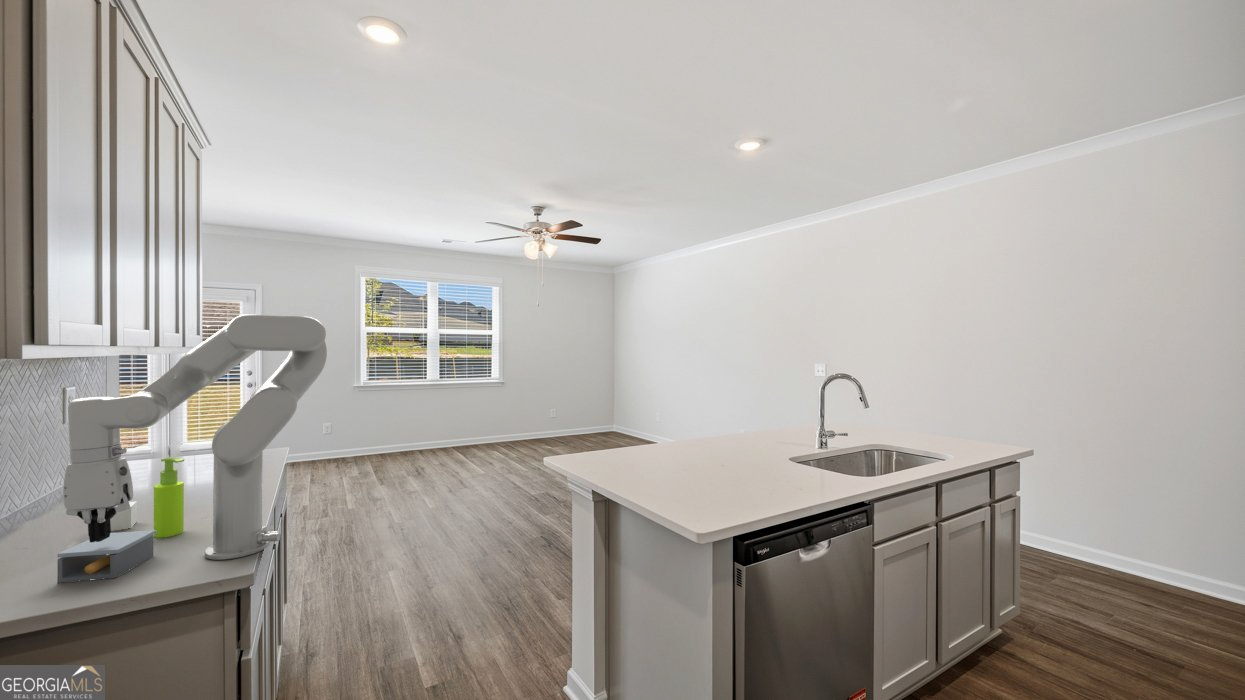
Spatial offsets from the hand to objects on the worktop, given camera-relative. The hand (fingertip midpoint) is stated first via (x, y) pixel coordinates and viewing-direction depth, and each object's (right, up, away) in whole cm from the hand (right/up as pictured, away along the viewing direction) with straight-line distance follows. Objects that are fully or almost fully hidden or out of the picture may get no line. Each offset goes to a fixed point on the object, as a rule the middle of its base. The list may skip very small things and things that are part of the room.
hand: (100, 539), depth 109 cm
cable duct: (-2, -8, +3) cm, 9 cm away
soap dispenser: (-7, -8, +25) cm, 27 cm away
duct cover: (-1, -2, +3) cm, 4 cm away
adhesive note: (-25, -8, +30) cm, 40 cm away
